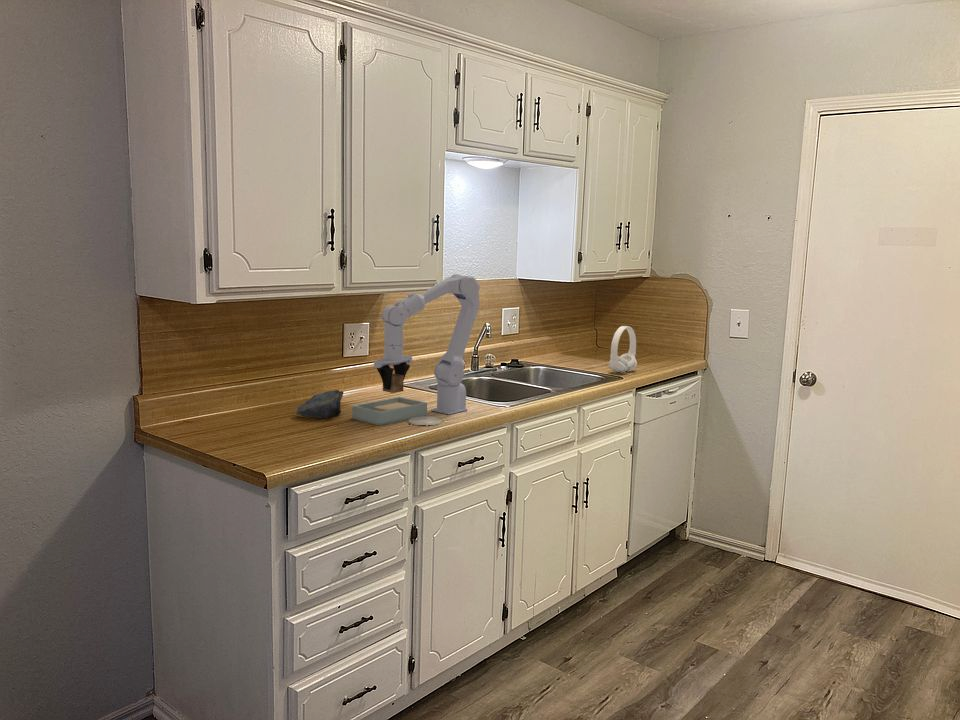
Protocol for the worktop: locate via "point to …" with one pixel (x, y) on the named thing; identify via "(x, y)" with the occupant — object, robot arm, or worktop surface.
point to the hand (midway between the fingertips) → (393, 388)
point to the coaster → (425, 420)
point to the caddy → (389, 410)
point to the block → (396, 383)
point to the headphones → (625, 360)
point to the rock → (322, 405)
